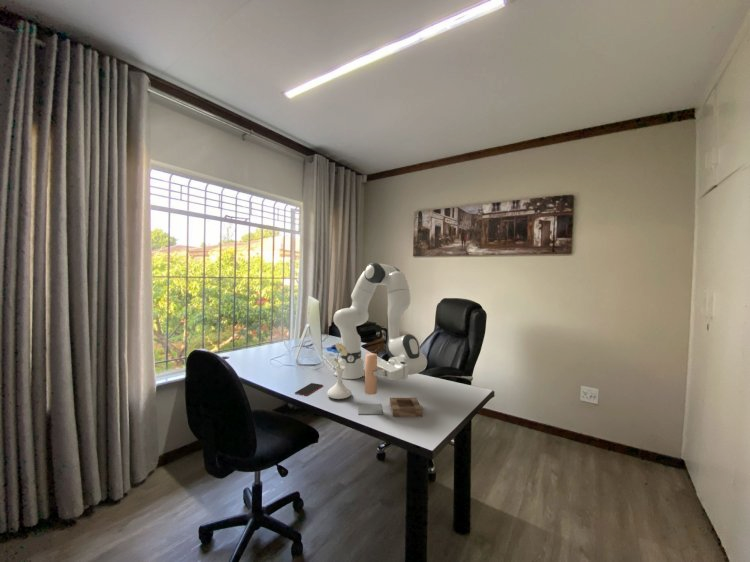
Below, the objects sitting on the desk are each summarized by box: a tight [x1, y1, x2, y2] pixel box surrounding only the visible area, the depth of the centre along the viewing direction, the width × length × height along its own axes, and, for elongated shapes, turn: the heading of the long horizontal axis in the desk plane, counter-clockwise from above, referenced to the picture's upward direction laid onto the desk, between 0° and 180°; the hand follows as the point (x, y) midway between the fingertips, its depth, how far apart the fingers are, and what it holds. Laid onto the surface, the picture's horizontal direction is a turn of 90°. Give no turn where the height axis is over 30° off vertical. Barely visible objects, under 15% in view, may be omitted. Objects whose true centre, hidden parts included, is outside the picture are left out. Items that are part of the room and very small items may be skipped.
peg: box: [364, 352, 378, 395], centre depth 128 cm, size 5×5×16 cm
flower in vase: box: [326, 341, 352, 400], centre depth 142 cm, size 13×11×25 cm
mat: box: [357, 403, 384, 416], centre depth 128 cm, size 10×10×1 cm
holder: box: [389, 397, 423, 418], centre depth 128 cm, size 12×12×3 cm
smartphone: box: [294, 382, 324, 397], centre depth 149 cm, size 7×1×15 cm
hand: (369, 371), depth 128 cm, fingers closed on peg, 5 cm apart
